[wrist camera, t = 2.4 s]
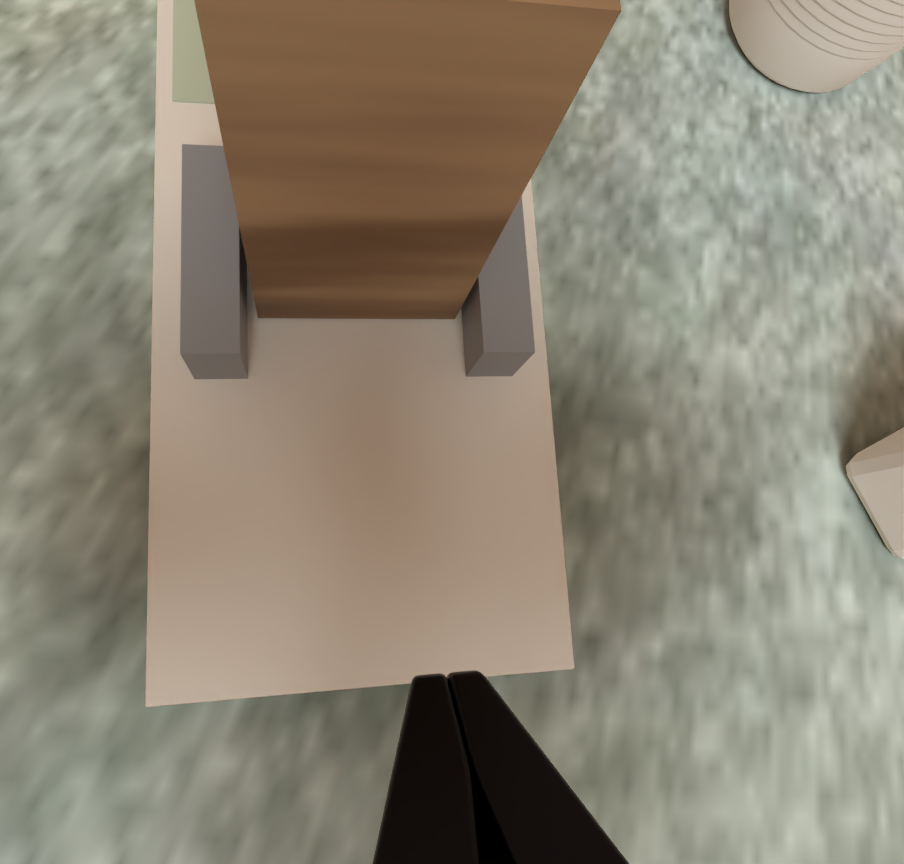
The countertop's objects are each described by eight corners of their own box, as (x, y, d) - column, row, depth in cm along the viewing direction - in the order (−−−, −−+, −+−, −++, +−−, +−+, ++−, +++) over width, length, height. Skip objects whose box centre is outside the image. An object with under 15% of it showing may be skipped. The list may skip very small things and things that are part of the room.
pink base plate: (563, 665, 23) (606, 679, 20) (153, 701, 21) (122, 723, 17) (505, -7, 28) (532, -90, 24) (164, -39, 25) (142, -135, 22)
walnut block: (454, 319, 23) (621, 10, 11) (257, 318, 22) (188, -28, 10) (446, 187, 24) (591, -240, 12) (256, 180, 23) (190, -302, 11)
